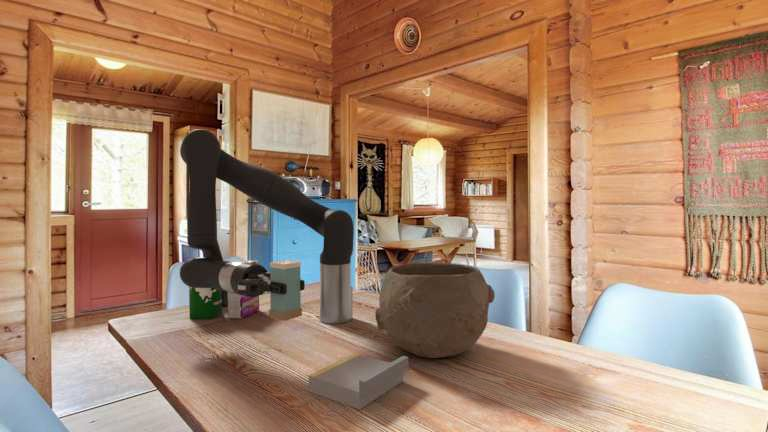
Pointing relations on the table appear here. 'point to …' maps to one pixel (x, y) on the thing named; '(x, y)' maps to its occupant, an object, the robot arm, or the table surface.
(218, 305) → the milk carton
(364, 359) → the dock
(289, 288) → the teal tall block
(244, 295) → the robot arm
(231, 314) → the candy bar box
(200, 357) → the table surface
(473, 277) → the bowl
